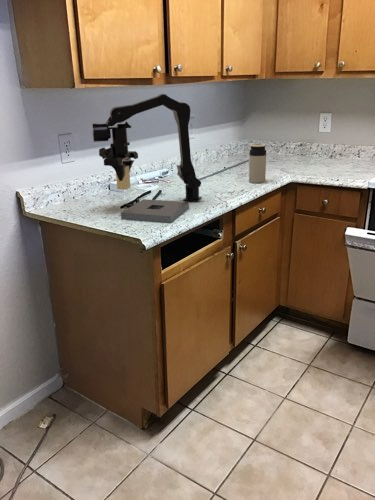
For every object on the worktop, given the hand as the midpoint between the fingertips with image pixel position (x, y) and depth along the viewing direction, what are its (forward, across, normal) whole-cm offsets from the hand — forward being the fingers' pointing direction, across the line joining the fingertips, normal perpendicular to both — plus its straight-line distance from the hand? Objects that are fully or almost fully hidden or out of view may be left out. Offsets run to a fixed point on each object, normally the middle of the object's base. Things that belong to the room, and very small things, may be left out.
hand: (123, 179), depth 179 cm
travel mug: (+11, -56, +44) cm, 72 cm away
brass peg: (+4, 0, 0) cm, 4 cm away
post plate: (+11, +7, +17) cm, 21 cm away
